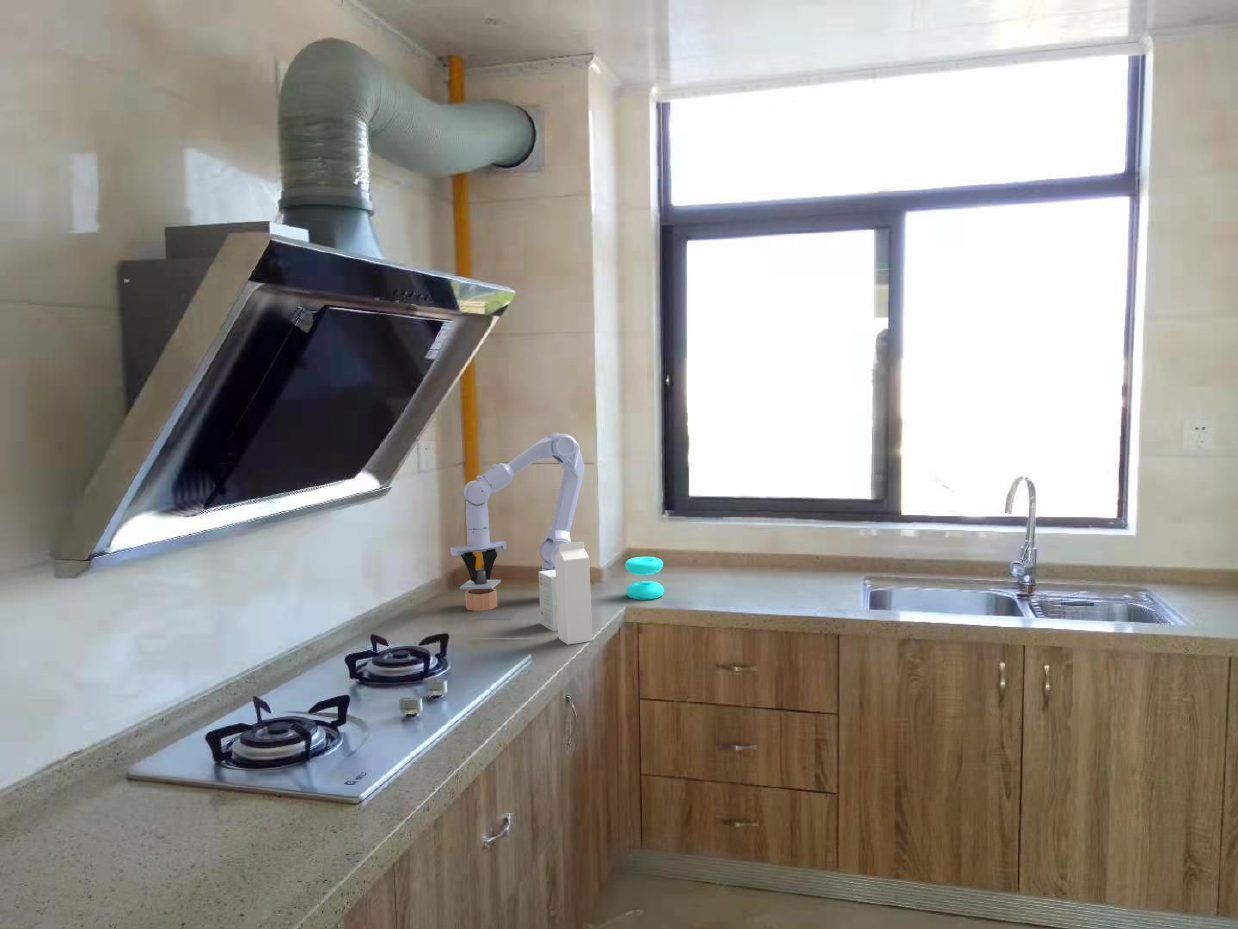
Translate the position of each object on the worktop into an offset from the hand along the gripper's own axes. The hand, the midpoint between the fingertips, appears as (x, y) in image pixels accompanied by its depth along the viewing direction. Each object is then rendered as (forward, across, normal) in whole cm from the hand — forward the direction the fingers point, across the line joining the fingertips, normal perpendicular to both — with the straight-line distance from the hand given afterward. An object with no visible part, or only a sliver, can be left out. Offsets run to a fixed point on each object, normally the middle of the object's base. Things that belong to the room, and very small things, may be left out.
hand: (480, 580), depth 244 cm
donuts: (+8, -41, +14) cm, 44 cm away
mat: (+7, 0, +11) cm, 13 cm away
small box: (+8, -8, +29) cm, 31 cm away
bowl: (+7, 0, 0) cm, 7 cm away
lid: (+1, 0, 0) cm, 1 cm away
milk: (+8, -6, +41) cm, 42 cm away
